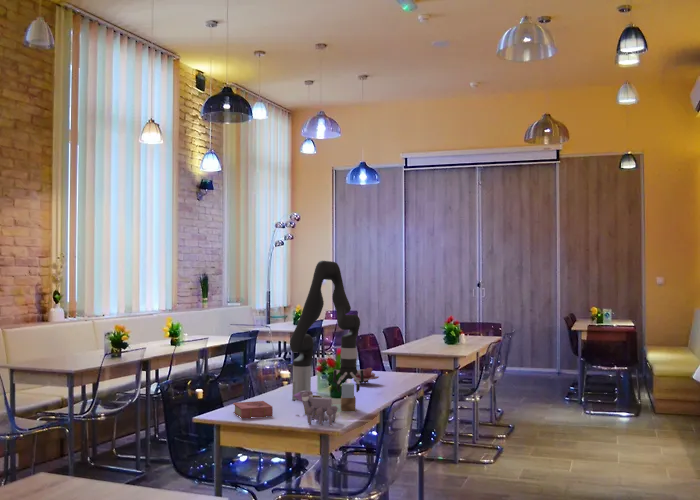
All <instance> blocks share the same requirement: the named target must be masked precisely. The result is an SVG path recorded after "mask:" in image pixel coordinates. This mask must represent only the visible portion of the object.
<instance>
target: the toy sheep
mask: <svg viewBox="0 0 700 500" xmlns="http://www.w3.org/2000/svg"><path fill="white" fill-rule="evenodd" d="M313 395H314V393H313V391H300V392H299V393H297V394H295V395H293V396H294V397H296V398H297V399H296V400H299V401H300V402H302V404H303V407H304V408H307V409H306V413H307V415H306V416H307V424H308V423H311V424H312V421H315V420H314V419H315V418H316V416H318V425H319V424H322V425H323V422H324V421H325V417H326V415H327V416H328V423H329V424H330V425H332V426H333V422H332V421H335V422H336V417H337V416H336V415H337V413H338V412H337V410H338V408H337V407H336V406H332V402H333V400H332V398H331V397H330V398H329V397H322V398H319V397H314V398H313ZM311 403H312V405H311ZM310 407H311V408H310ZM315 411H316V413H317V415H315ZM310 414H312V415H310ZM329 424H328V425H329Z"/></svg>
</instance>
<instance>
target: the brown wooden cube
mask: <svg viewBox="0 0 700 500" xmlns="http://www.w3.org/2000/svg"><path fill="white" fill-rule="evenodd" d="M356 400H357V399H356V395H354V398H342V395H341V396H340V404H341V411H355V410H356V402H357V401H356Z"/></svg>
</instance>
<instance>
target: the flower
mask: <svg viewBox="0 0 700 500" xmlns="http://www.w3.org/2000/svg"><path fill="white" fill-rule="evenodd" d="M362 370H363V378H364V382H363V383H364V385H366V383H367V384H369V381H370V380H376V379H377V380H378V379H379V378H380V376H378V375H377V376H376V373H374V372H373V368H372V367H367V368H363V369H362ZM355 376H356V378H357V379H358V380H361V376H360V374H359V373H358V372H357V374H356V375H355ZM353 381H354V382H355V384H357V382H356V381H355V380H354V379H353Z"/></svg>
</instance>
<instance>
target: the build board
mask: <svg viewBox="0 0 700 500" xmlns="http://www.w3.org/2000/svg"><path fill="white" fill-rule="evenodd" d="M332 406H336V407H337V408H338V410H337V412H336V413H357V410H356V409H355V411H341V403H339V404H338V403H337V404H336V403H333V404H332Z"/></svg>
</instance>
